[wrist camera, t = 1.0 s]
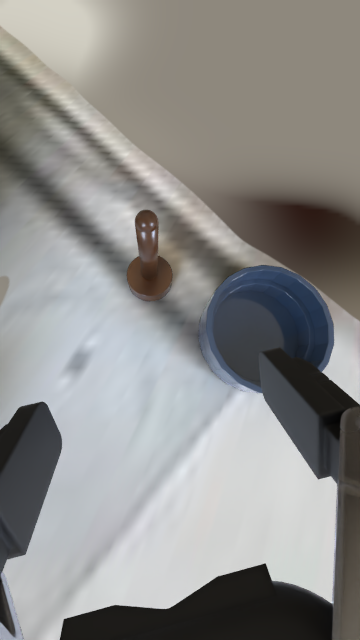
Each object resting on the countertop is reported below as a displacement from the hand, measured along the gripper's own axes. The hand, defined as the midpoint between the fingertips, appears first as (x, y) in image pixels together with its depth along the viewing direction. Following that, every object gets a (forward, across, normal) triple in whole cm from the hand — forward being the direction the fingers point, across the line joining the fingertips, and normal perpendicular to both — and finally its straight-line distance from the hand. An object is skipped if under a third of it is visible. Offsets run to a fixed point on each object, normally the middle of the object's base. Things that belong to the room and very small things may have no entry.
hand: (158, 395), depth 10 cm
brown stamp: (+24, 0, +1) cm, 24 cm away
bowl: (+20, -11, +9) cm, 24 cm away
